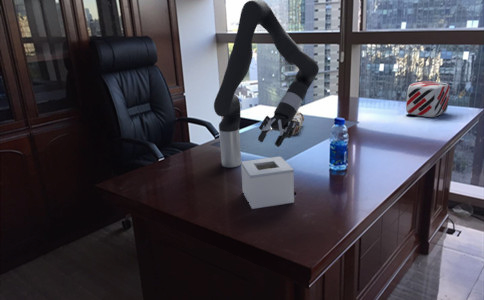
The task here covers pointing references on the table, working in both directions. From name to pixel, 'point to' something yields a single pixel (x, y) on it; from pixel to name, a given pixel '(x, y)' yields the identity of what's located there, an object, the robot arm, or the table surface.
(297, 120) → the pencil case
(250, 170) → the box
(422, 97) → the decorative cube
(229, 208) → the table surface
